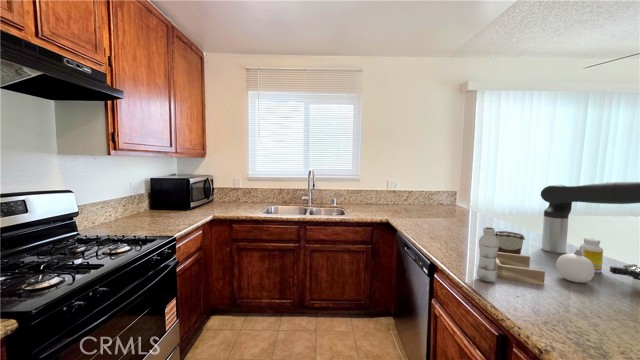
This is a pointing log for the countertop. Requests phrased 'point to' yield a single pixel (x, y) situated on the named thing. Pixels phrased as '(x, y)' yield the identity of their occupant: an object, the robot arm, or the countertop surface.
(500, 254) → the bay
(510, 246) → the food container
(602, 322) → the countertop surface
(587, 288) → the countertop surface
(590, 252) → the supplement bottle
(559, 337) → the countertop surface
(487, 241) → the plastic bottle
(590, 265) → the ornament
